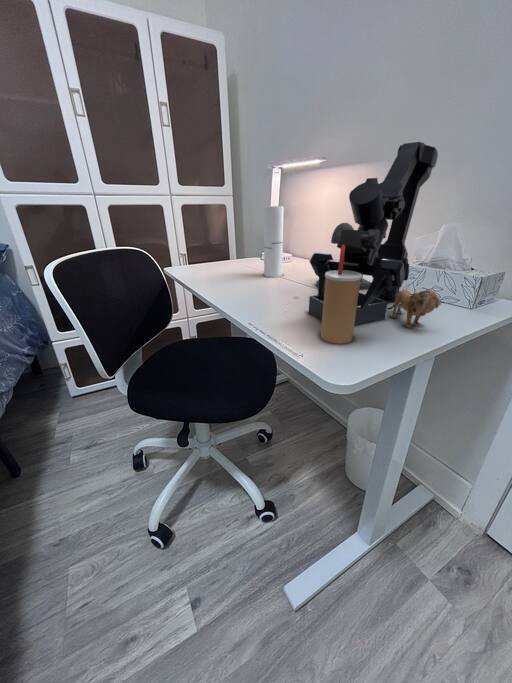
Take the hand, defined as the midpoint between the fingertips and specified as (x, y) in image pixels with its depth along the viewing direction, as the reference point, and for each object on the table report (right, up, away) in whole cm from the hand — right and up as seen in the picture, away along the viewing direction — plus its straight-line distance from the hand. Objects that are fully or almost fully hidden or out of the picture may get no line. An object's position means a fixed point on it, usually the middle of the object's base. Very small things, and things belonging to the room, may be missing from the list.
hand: (339, 303), depth 59 cm
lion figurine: (+20, -3, +11) cm, 23 cm away
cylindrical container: (-10, +19, +57) cm, 61 cm away
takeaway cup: (0, -7, +3) cm, 8 cm away
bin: (+6, -1, +15) cm, 16 cm away
